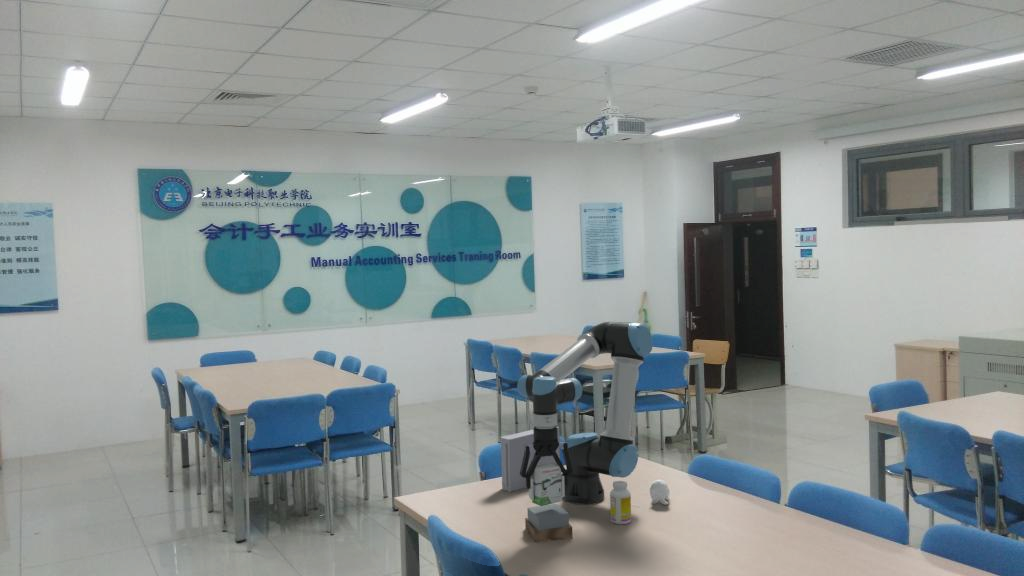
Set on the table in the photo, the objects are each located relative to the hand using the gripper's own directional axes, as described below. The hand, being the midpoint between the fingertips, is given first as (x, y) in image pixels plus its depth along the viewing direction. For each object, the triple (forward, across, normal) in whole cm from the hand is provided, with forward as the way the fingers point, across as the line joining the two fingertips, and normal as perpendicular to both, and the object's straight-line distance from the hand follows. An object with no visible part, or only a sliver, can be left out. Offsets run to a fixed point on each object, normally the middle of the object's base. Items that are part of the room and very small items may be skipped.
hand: (546, 496), depth 239 cm
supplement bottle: (+12, +26, +4) cm, 29 cm away
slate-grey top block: (+8, 0, 0) cm, 8 cm away
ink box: (+2, 0, 0) cm, 2 cm away
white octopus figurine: (+12, +47, +19) cm, 52 cm away
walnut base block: (+12, 0, +1) cm, 12 cm away
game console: (+12, +8, +54) cm, 56 cm away
